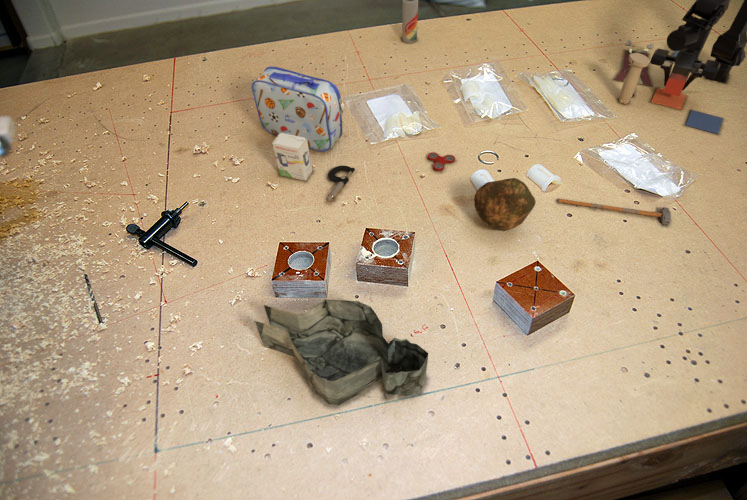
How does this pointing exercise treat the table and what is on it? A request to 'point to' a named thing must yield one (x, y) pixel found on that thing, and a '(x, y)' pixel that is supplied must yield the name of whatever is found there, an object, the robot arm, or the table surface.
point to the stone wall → (345, 350)
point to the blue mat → (704, 122)
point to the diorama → (626, 65)
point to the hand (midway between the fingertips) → (673, 87)
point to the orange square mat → (668, 99)
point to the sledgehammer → (627, 210)
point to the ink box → (292, 156)
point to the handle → (633, 76)
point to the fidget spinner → (440, 160)
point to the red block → (675, 84)
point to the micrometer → (338, 180)
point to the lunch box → (299, 106)
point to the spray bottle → (409, 20)
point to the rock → (504, 203)
